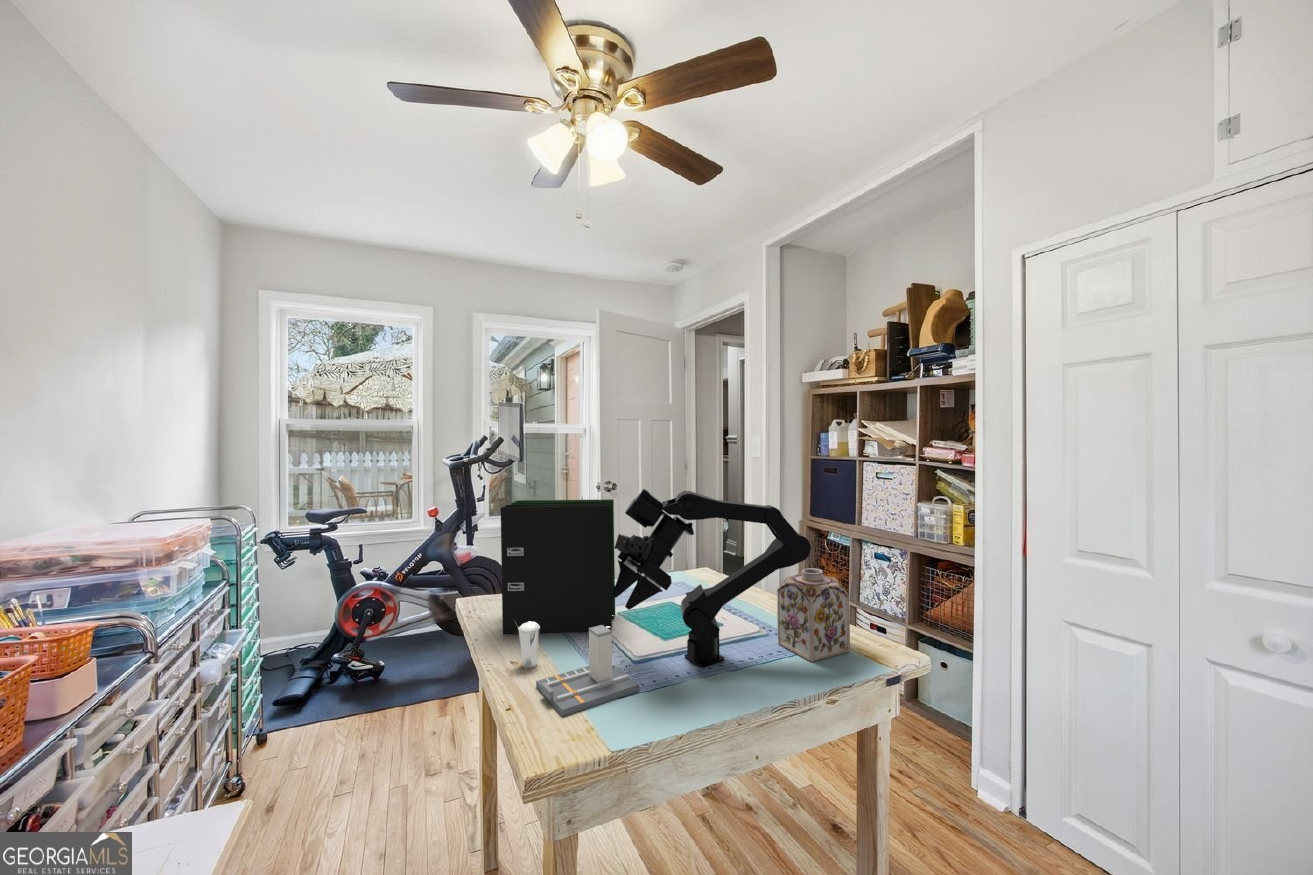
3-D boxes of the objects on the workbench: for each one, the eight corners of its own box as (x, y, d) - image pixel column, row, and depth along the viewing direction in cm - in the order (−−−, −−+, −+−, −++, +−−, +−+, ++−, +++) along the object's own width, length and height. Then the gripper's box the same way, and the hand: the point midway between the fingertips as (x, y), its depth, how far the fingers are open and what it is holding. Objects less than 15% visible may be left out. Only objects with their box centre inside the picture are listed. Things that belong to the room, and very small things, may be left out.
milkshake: (517, 661, 113) (516, 616, 113) (541, 659, 114) (541, 614, 114) (513, 670, 109) (512, 623, 109) (538, 669, 109) (538, 622, 109)
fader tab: (602, 671, 104) (602, 624, 104) (612, 679, 101) (611, 630, 101) (589, 675, 103) (588, 628, 103) (598, 683, 99) (597, 634, 99)
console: (607, 665, 110) (607, 653, 110) (639, 690, 99) (639, 676, 99) (533, 687, 101) (533, 674, 101) (559, 717, 90) (559, 702, 90)
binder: (615, 613, 142) (613, 499, 142) (610, 634, 128) (608, 506, 127) (518, 614, 143) (516, 500, 142) (501, 635, 128) (499, 508, 128)
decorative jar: (851, 652, 115) (850, 573, 115) (812, 663, 110) (810, 580, 110) (813, 634, 126) (812, 561, 125) (776, 643, 120) (774, 567, 120)
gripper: (621, 514, 118) (580, 571, 114) (650, 524, 101) (602, 592, 97) (656, 541, 121) (617, 598, 117) (690, 556, 104) (646, 623, 100)
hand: (620, 602), depth 108 cm, fingers open, 9 cm apart
